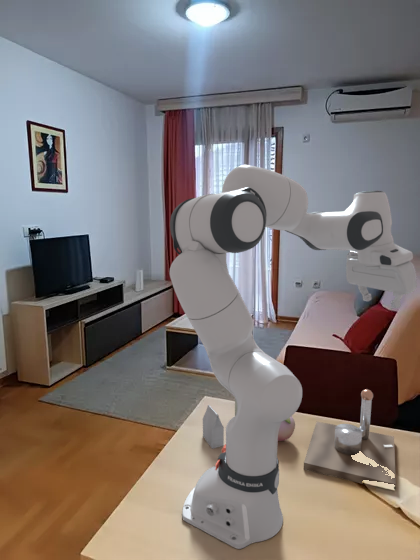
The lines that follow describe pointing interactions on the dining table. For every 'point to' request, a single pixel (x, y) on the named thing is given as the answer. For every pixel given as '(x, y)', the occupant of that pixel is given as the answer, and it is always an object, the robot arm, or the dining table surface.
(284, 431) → the decorative fruit
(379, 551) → the dining table surface
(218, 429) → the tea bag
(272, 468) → the robot arm
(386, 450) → the stand
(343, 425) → the crank handle
